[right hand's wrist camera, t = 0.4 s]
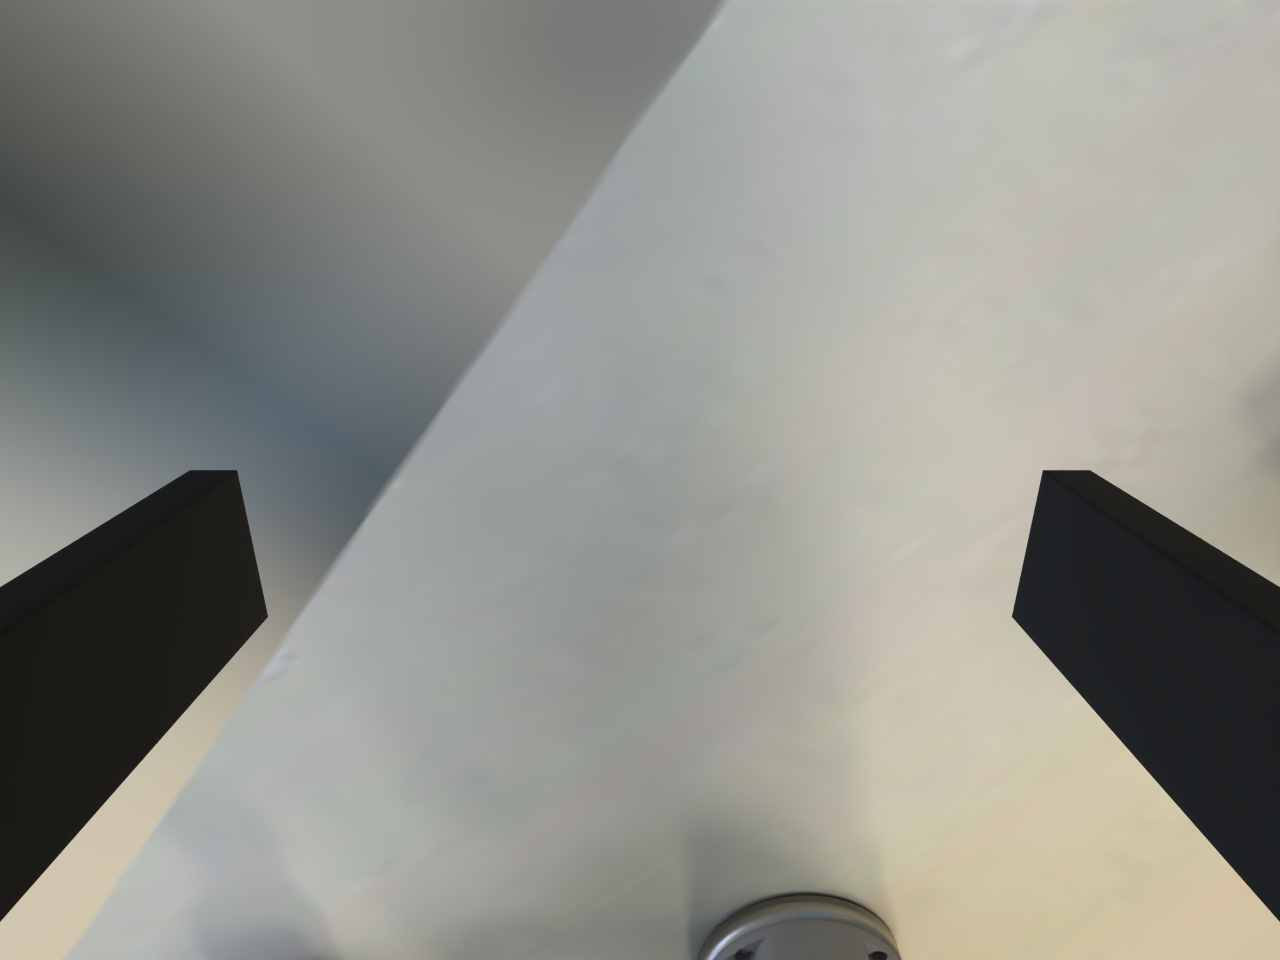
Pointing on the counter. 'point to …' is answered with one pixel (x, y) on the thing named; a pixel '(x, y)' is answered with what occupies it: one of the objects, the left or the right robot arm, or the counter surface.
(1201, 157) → the counter surface
